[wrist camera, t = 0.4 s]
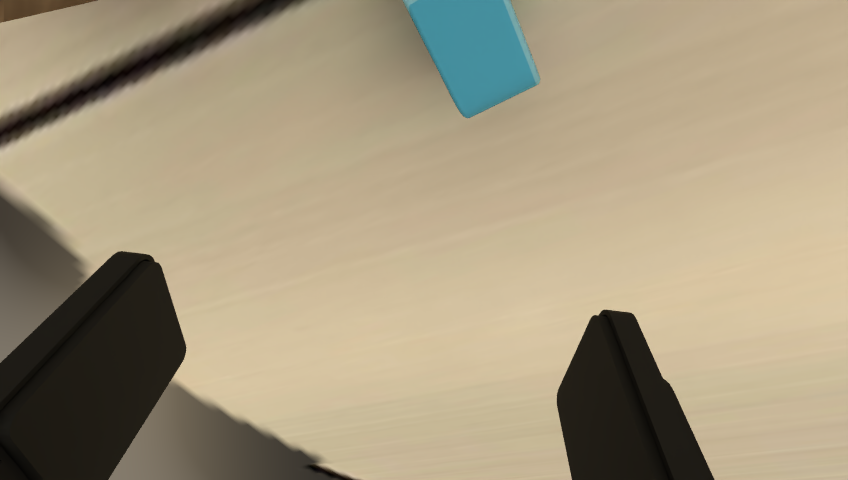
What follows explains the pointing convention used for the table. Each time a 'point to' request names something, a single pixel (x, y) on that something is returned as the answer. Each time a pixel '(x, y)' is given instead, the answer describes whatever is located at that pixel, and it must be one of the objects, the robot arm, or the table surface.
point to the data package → (475, 50)
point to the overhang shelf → (33, 7)
